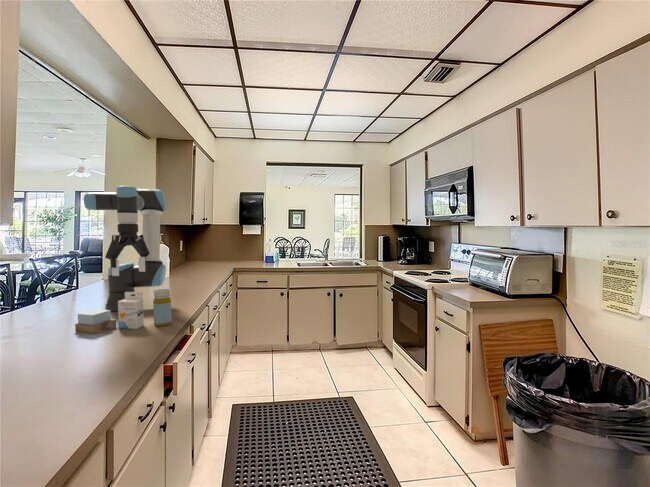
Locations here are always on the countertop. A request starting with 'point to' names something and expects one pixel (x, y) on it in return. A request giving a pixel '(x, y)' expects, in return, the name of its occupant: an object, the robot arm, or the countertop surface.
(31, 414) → the countertop surface
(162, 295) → the bottle
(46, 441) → the countertop surface
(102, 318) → the light grey block
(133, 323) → the ink box
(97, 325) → the walnut block
